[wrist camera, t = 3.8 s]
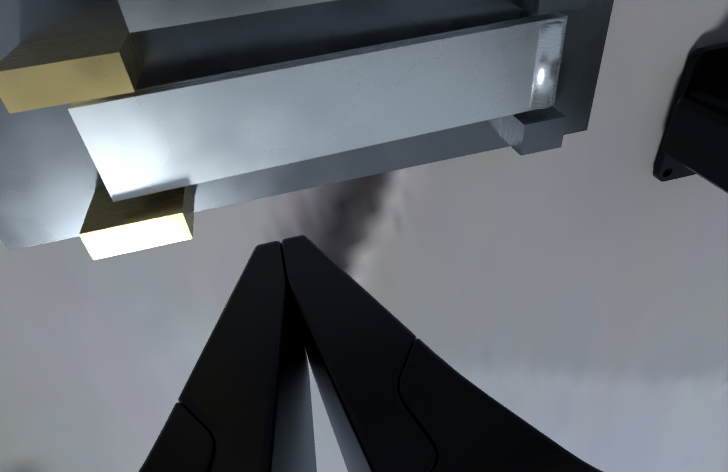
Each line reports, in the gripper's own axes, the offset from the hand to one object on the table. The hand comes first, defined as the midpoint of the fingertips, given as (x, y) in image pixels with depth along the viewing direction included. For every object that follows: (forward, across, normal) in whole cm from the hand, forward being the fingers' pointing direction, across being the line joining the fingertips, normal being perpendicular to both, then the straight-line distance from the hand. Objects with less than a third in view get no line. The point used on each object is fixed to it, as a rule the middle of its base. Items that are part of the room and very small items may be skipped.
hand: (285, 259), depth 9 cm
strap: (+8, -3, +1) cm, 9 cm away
